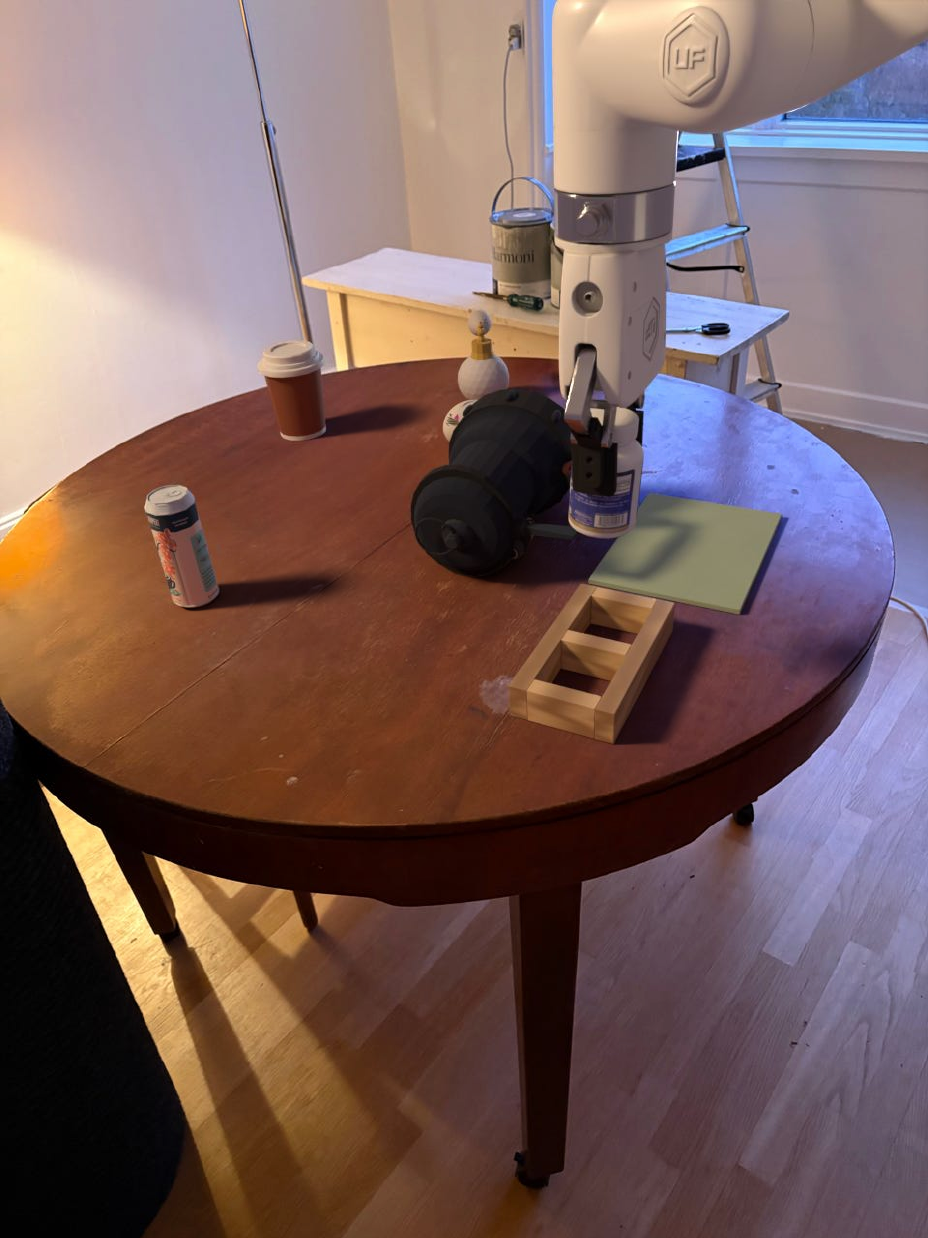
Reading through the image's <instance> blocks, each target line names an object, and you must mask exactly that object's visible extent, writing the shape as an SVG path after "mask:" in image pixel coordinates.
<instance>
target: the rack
mask: <svg viewBox="0 0 928 1238" xmlns="http://www.w3.org/2000/svg"><path fill="white" fill-rule="evenodd" d="M675 605H676V603H675V602H673V601H668V600H663V599H658V598H654V597H649V596H644V595H639V594H635V593H630V592H625V591H620V590H615V589H610V588H606V587H601V586H596V585H591V584H585V583H580V584H579V585H578V587H577V588H576V590H575V591H574V592H573V594H572V596H571V597H570V598H569V600H568V601H567V602H566V604H565V605H564V607H563V608H562V609H561V610H560V613H558V615H557V617H556V618H555V619H554V621H553V622H552V624H551V625H550V626H549V628H548V629H547V630H546V632H545V633H544V635H543V636H542V637H541V639H540V640H539V641H538V643H537V645H536V646H535V648H534V649H533V651H532V652H531V653H530V655H529V656H528V657H527V659H526V660H525V661H524V663H523V665H522V666H521V667H520V668H519V670H518V672H517V673H516V674H515V676H514V678H512V680H511V682H510V683H509V684H508V702H509V703H508V704H509V716H511V717H514V718H518V719H522V720H525V721H528V722H532V723H537V724H539V725H543V726H547V727H550V728H554V729H558V730H561V731H564V732H568V733H570V734H571V733H572V734H575V735H579V736H581V737H582V736H583V737H586V738H590V739H593V740H594V739H595V740H596V741H600V742H604V743H607V744H610V745H614V744H615V743H616V740H617V738H618V736H619V734H620V732H621V730H622V729H623V726H624V725H625V723H626V721H627V719H628V718H629V716H630V714H631V711H632V710H633V708H634V706H635V704H636V702H637V700H638V698H639V696H640V694H641V692H642V691H643V689H644V686H645V685H646V683H647V680H648V679H649V678H650V675H651V673H652V672H653V670H654V667H655V666H656V664H657V661H658V660H659V658H660V656H661V654H662V652H663V650H664V648H665V646H666V644H667V642H668V641H669V638H671V635H672V633H673V629H674V628H673V627H674V616H675ZM590 625H596V626H601V627H606V628H609V629H613V630H619V631H623V632H626V633H632V634H635V635H636V637H635V639H634V640H633V642H632V644H631V643H626V642H623V641H622V642H621V641H617V640H613V639H609V638H606V637H605V638H604V637H600V636H596V635H592V634H588V633H586V631H587V629H588V628H589V626H590ZM561 670H565V671H570V672H574V673H578V674H582V675H585V676H589V677H592V678H597V679H602V680H605V681H609V684H608V686H607V688H606V690H605V691H604V693H603V694H602V696H600V695H597V694H593V693H589V692H586V691H583V690H577V689H574V688H569V687H566V686H562V685H559V684H555V683H553V681H555V679H556V677H557V676H558V674H559V672H560V671H561Z"/></svg>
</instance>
